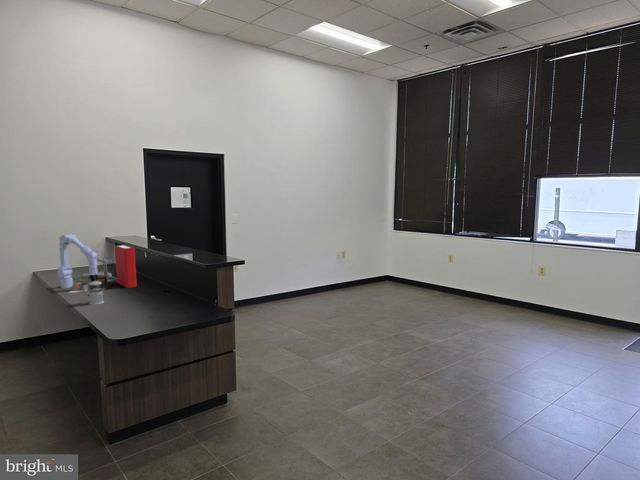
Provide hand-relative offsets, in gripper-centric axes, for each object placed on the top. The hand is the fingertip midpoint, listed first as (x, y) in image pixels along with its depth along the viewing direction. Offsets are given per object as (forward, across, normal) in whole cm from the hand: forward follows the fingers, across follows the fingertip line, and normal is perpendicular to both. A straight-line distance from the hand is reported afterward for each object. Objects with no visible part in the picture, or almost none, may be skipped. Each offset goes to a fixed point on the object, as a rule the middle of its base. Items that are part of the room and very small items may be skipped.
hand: (94, 284), depth 330 cm
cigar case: (+5, -5, +24) cm, 25 cm away
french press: (+5, +16, -39) cm, 42 cm away
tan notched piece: (+4, -9, 0) cm, 10 cm away
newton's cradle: (+5, -7, +44) cm, 45 cm away
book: (+5, +19, +17) cm, 26 cm away
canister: (+3, -12, 0) cm, 12 cm away
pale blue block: (+4, -9, -8) cm, 13 cm away
